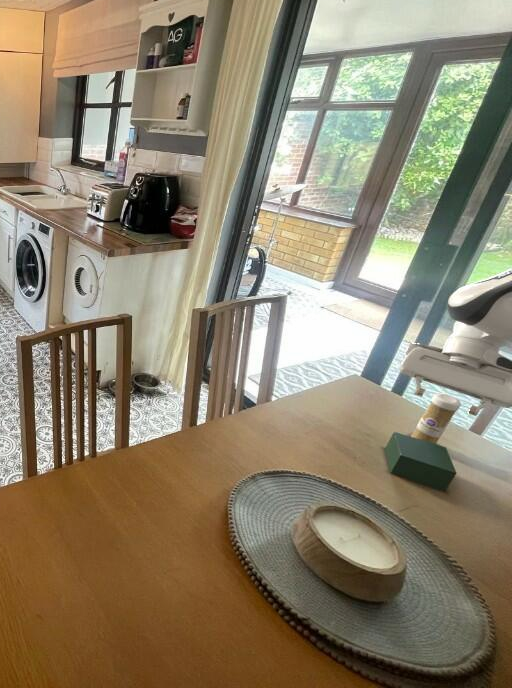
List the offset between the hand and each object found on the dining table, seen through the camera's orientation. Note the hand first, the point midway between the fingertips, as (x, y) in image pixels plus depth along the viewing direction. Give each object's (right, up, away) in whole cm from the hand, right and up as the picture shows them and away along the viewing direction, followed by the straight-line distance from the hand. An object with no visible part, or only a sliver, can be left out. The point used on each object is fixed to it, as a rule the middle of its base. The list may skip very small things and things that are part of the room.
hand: (444, 404), depth 100 cm
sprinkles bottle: (-3, -10, +3) cm, 11 cm away
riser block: (-13, -14, -5) cm, 20 cm away
